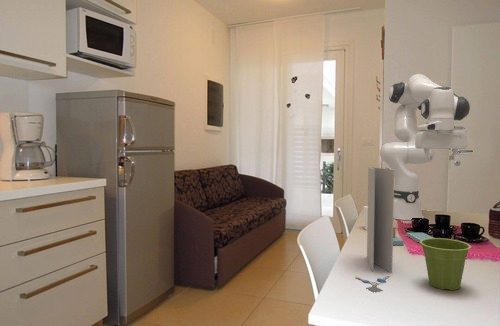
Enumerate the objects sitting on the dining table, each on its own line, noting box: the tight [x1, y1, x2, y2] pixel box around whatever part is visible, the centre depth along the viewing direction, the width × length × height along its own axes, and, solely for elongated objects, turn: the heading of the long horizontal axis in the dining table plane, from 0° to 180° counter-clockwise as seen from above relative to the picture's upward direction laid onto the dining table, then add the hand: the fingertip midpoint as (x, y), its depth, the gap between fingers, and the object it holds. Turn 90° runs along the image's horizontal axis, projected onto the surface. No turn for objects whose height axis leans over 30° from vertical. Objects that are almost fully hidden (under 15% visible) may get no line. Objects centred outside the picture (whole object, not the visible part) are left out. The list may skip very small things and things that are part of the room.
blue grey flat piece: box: [355, 275, 390, 294], centre depth 99 cm, size 14×8×1 cm, turn 151°
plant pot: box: [419, 237, 472, 291], centre depth 96 cm, size 12×12×11 cm
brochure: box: [366, 166, 395, 274], centre depth 113 cm, size 14×6×30 cm, turn 168°
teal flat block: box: [405, 232, 434, 244], centre depth 143 cm, size 14×7×2 cm, turn 1°
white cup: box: [363, 205, 368, 231], centre depth 161 cm, size 8×8×10 cm
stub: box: [393, 225, 405, 246], centre depth 142 cm, size 14×6×6 cm, turn 1°
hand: (440, 160), depth 151 cm, fingers open, 8 cm apart
